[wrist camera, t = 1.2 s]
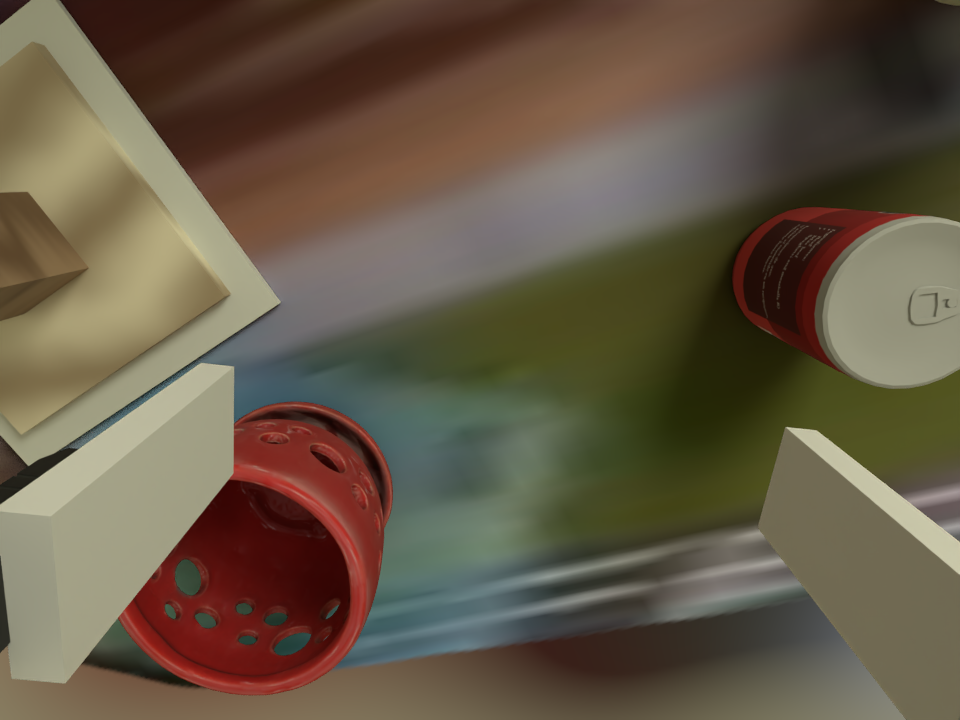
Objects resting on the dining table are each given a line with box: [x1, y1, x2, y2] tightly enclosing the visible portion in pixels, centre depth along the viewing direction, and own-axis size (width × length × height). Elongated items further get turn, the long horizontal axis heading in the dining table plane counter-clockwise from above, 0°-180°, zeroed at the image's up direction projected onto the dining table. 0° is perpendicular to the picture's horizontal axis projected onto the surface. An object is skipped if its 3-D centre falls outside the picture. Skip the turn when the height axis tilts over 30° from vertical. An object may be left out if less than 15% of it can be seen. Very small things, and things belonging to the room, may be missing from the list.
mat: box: [0, 0, 281, 466], centre depth 38 cm, size 20×20×1 cm
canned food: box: [732, 207, 960, 389], centre depth 33 cm, size 8×8×11 cm
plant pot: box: [118, 402, 393, 695], centre depth 36 cm, size 13×13×12 cm
